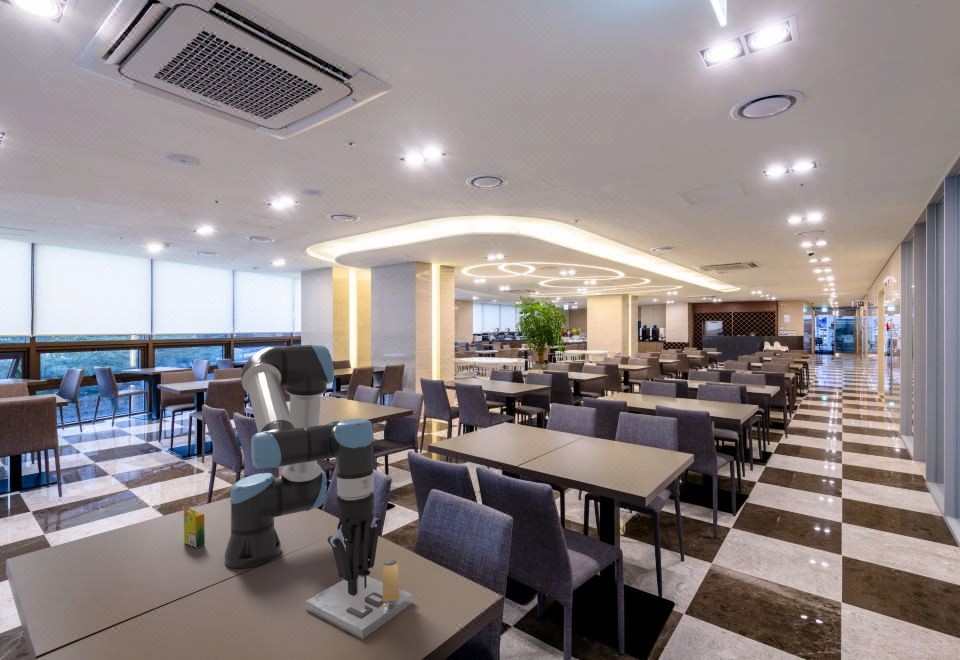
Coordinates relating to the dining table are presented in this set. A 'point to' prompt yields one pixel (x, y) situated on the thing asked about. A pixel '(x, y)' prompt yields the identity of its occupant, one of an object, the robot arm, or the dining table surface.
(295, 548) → the dining table surface
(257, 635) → the dining table surface
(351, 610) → the label
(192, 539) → the crayon box
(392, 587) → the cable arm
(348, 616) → the plate
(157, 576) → the dining table surface
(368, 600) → the label
